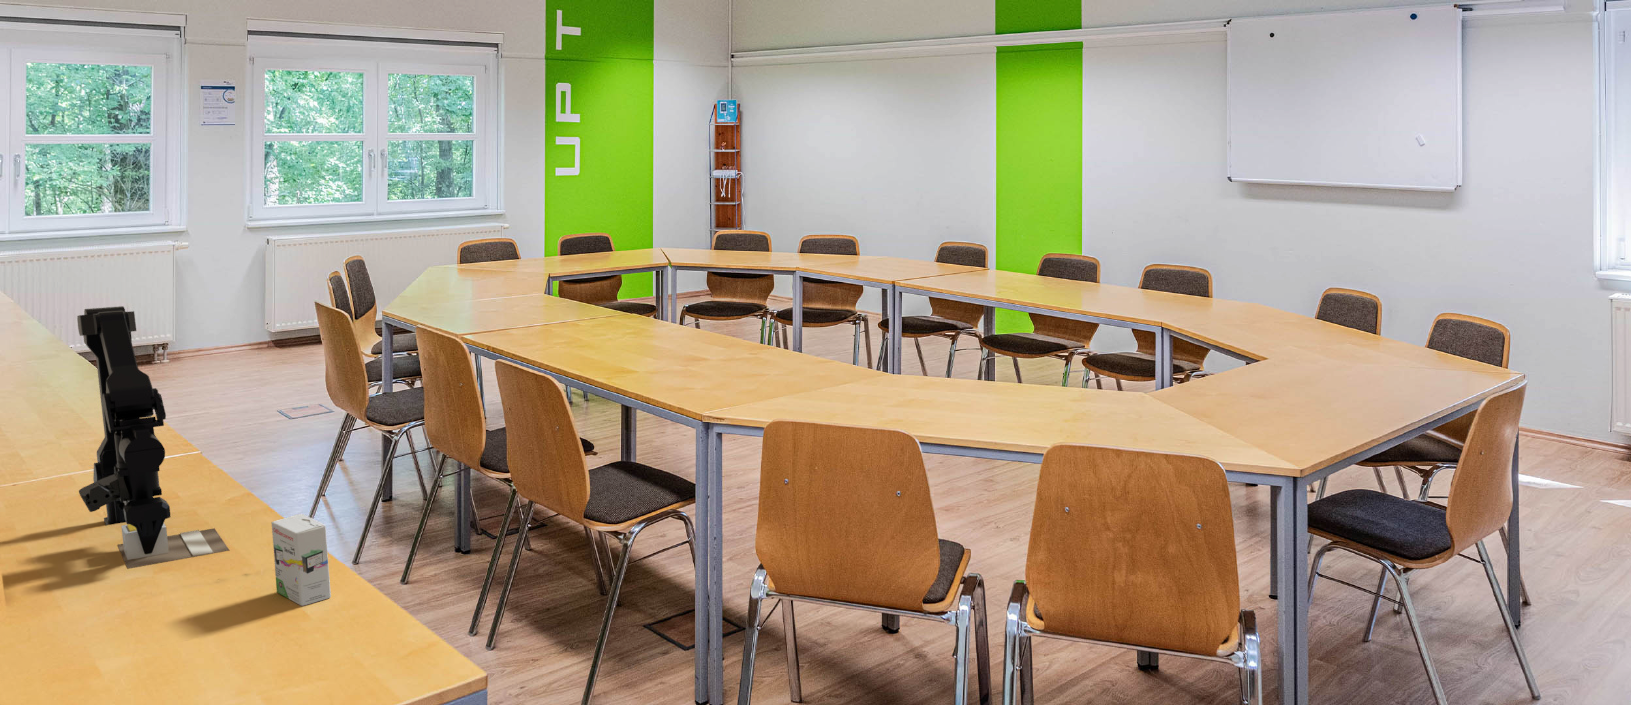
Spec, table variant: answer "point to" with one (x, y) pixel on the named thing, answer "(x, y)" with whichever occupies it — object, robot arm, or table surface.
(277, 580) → the ink box
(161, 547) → the block
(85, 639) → the table surface
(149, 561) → the subfloor board
